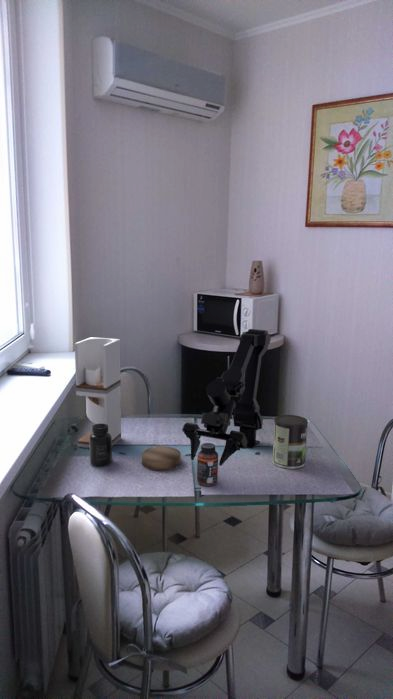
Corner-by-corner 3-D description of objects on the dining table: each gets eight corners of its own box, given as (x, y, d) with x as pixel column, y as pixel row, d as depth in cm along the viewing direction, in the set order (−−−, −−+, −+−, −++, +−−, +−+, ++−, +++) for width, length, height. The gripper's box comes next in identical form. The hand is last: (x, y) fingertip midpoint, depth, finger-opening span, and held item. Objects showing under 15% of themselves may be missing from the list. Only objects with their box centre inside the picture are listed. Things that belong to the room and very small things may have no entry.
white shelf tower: (93, 434, 192) (91, 337, 185) (121, 438, 190) (120, 339, 182) (77, 446, 182) (74, 343, 174) (107, 450, 179) (105, 345, 171)
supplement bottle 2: (215, 488, 154) (216, 450, 151) (195, 485, 155) (195, 448, 153) (219, 478, 160) (220, 442, 157) (199, 476, 161) (199, 440, 158)
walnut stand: (157, 452, 178) (157, 443, 178) (188, 460, 172) (188, 452, 171) (133, 464, 168) (133, 455, 168) (164, 474, 162) (164, 464, 161)
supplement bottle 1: (116, 460, 171) (115, 423, 169) (105, 468, 165) (105, 431, 162) (96, 456, 174) (95, 420, 171) (85, 465, 167) (84, 428, 165)
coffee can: (307, 458, 175) (309, 416, 172) (302, 471, 166) (305, 427, 163) (275, 453, 178) (277, 412, 176) (269, 466, 169) (271, 422, 166)
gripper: (185, 396, 160) (167, 444, 152) (245, 405, 152) (229, 456, 145) (196, 414, 168) (179, 460, 161) (253, 423, 161) (239, 473, 153)
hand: (205, 462), depth 155 cm, fingers open, 8 cm apart
